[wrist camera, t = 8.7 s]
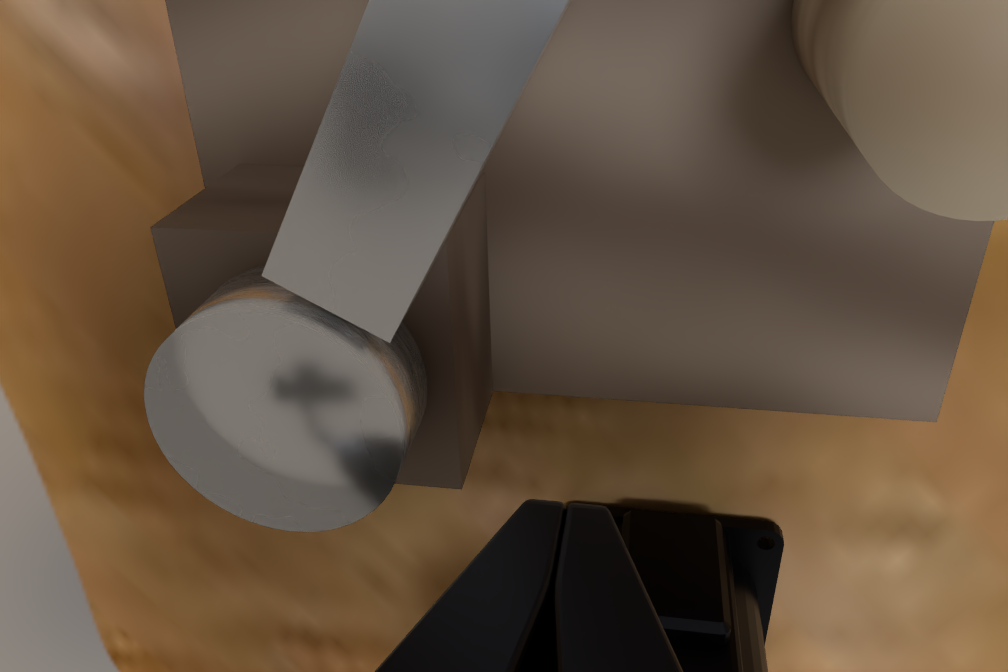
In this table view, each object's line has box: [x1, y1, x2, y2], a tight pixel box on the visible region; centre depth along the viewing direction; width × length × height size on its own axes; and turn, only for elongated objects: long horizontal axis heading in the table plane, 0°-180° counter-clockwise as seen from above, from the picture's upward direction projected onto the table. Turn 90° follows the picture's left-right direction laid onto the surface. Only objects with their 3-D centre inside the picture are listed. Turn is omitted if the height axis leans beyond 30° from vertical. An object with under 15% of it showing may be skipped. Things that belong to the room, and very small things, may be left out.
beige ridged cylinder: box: [791, 0, 1008, 221], centre depth 13 cm, size 4×4×6 cm
